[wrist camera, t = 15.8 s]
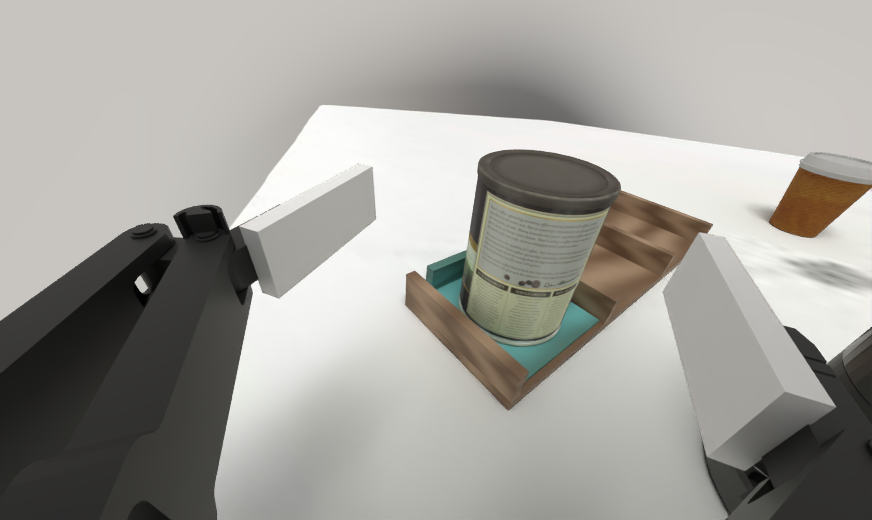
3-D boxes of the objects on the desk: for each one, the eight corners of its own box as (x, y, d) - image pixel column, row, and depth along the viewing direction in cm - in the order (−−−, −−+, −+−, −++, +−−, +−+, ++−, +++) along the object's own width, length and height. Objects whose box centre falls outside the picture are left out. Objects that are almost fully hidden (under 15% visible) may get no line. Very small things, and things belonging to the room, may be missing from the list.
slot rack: (697, 247, 48) (713, 224, 46) (508, 410, 24) (520, 378, 22) (608, 210, 56) (617, 189, 54) (405, 304, 33) (406, 274, 31)
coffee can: (440, 286, 34) (455, 151, 26) (520, 268, 38) (554, 146, 30) (492, 362, 26) (535, 207, 18) (584, 330, 30) (655, 189, 22)
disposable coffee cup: (750, 222, 57) (799, 154, 50) (766, 211, 62) (813, 148, 55) (822, 248, 51) (889, 175, 44) (834, 234, 56) (896, 166, 49)
